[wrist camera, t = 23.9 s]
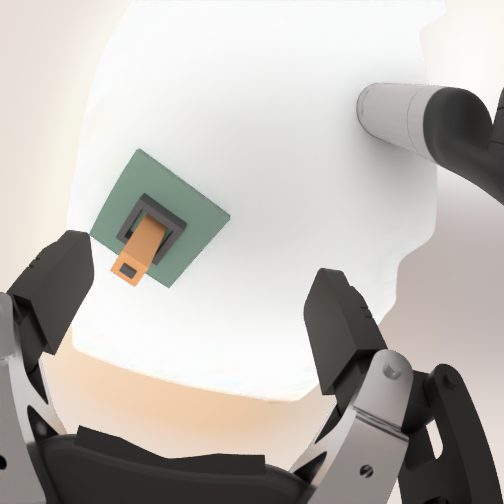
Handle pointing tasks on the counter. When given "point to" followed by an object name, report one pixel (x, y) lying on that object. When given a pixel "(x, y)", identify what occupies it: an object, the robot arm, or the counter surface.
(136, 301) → the counter surface
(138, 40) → the counter surface
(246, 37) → the counter surface
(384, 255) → the counter surface
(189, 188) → the board
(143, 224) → the plug
